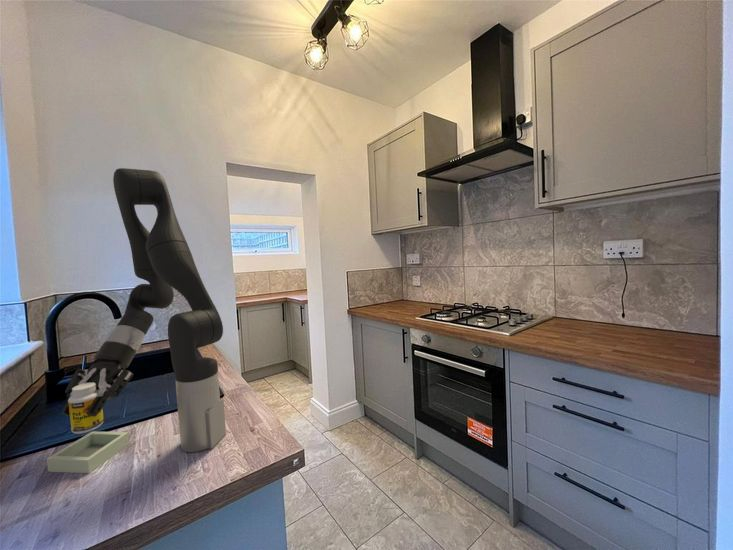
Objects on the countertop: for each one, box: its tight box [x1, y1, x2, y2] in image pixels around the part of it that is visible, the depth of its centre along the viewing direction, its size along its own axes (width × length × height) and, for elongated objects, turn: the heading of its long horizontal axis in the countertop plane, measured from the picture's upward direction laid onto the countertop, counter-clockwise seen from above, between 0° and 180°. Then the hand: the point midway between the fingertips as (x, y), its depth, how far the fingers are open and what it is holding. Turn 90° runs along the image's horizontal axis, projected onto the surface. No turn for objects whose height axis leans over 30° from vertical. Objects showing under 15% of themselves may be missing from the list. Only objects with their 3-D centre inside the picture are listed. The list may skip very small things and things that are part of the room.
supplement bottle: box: [67, 382, 104, 435], centre depth 69 cm, size 6×6×10 cm
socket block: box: [46, 430, 130, 474], centre depth 70 cm, size 10×10×3 cm
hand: (78, 414), depth 68 cm, fingers closed on supplement bottle, 5 cm apart
